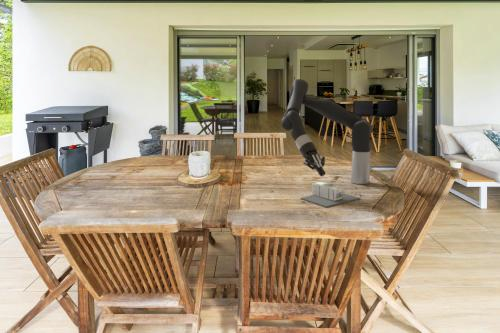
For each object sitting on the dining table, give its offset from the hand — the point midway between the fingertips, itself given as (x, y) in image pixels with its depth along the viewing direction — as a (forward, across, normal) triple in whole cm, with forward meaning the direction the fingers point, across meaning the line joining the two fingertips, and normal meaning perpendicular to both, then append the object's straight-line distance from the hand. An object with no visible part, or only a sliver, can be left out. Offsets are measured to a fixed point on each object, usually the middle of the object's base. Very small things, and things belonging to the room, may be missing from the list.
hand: (323, 175), depth 178 cm
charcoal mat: (+11, 0, -4) cm, 12 cm away
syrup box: (+2, 0, -8) cm, 8 cm away
